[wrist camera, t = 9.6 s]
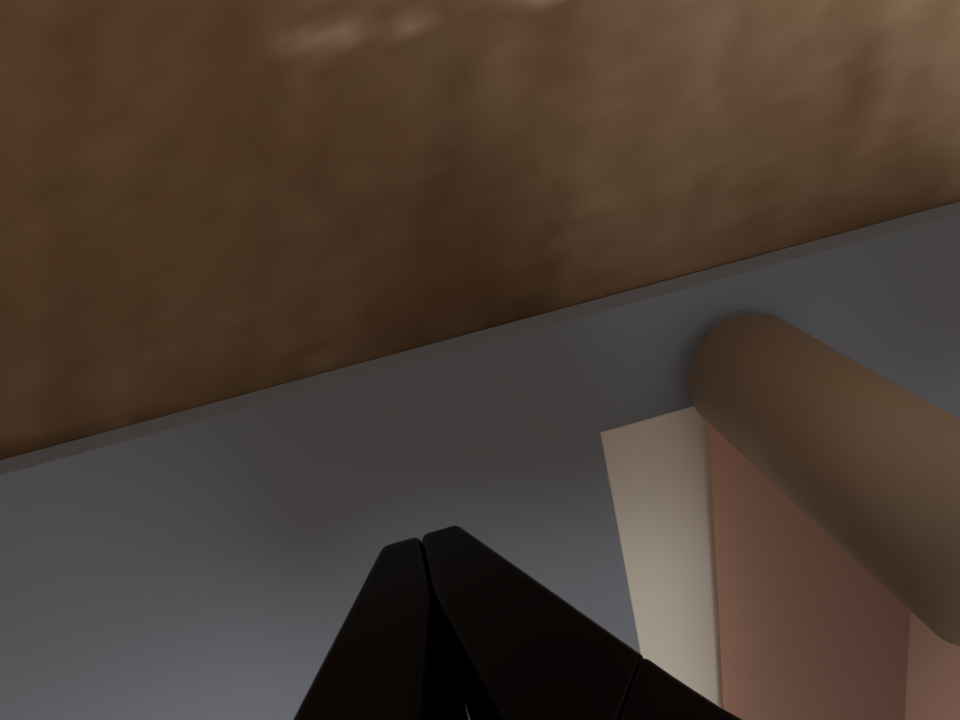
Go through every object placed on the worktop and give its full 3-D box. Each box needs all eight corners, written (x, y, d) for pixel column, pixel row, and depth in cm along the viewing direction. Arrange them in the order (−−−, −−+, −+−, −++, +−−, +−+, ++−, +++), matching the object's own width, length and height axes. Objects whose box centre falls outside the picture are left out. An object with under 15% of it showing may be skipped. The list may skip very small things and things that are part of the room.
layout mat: (1406, 80, 12) (1455, 81, 11) (1263, 788, 17) (1291, 811, 17) (-240, 524, 10) (-272, 550, 9) (180, 1171, 15) (175, 1210, 15)
